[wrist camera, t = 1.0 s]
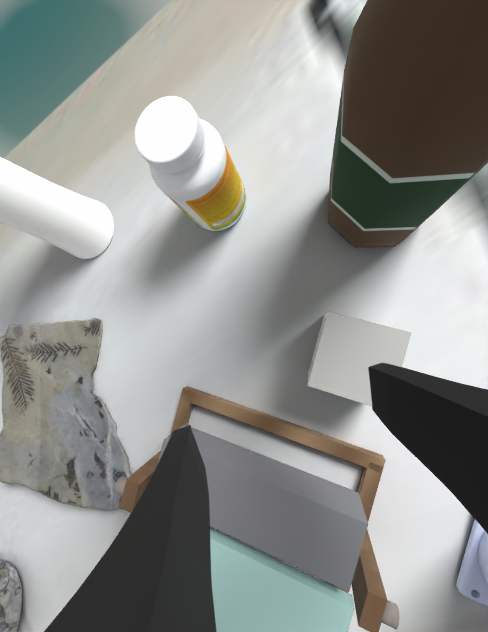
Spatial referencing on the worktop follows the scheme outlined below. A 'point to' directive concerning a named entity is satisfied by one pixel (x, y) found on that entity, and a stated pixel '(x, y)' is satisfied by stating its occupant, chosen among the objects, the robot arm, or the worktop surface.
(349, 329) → the stone block
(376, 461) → the walnut frame
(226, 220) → the supplement bottle
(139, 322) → the worktop surface
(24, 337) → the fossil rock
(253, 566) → the trapdoor plate
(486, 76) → the beer bottle
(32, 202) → the cosmetic bottle
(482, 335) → the worktop surface
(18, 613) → the fossilized seashell
